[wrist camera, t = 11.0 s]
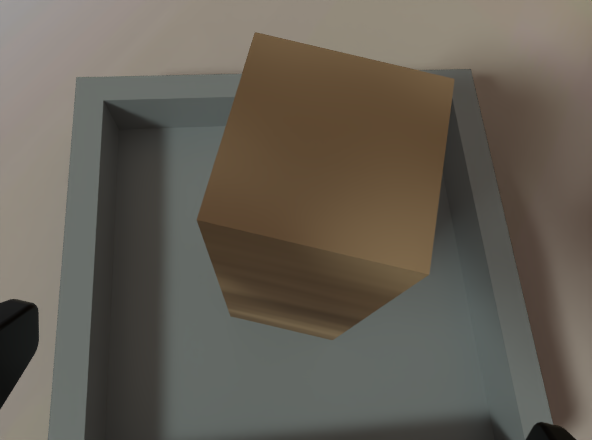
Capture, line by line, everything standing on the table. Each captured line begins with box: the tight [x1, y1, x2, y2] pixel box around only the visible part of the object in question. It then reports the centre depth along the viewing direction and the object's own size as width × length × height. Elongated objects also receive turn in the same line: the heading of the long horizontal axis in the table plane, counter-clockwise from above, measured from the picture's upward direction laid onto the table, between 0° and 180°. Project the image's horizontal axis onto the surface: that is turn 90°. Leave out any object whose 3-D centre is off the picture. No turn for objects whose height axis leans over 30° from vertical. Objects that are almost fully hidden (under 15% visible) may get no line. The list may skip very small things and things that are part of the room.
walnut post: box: [197, 32, 455, 340], centre depth 16 cm, size 4×4×12 cm
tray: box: [48, 69, 553, 440], centre depth 21 cm, size 18×18×4 cm
